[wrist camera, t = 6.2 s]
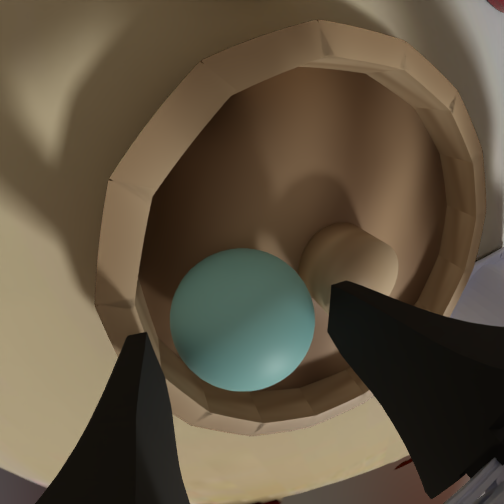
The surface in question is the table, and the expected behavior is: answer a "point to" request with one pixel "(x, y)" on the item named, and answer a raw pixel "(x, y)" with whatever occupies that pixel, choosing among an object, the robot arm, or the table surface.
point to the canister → (497, 4)
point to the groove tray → (294, 202)
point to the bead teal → (242, 319)
